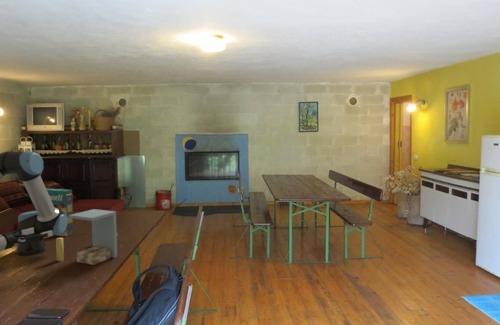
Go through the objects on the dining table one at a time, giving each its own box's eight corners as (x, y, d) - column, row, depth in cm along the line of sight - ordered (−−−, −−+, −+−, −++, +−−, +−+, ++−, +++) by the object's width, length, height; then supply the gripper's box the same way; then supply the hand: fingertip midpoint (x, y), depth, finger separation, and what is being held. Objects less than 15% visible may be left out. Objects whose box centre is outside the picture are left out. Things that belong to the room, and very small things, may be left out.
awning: (71, 262, 209) (69, 215, 206) (95, 253, 224) (94, 209, 222) (93, 266, 202) (92, 218, 200) (117, 256, 218) (116, 211, 215)
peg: (55, 260, 211) (54, 239, 210) (60, 258, 214) (59, 237, 213) (59, 261, 209) (59, 239, 208) (65, 259, 213) (64, 238, 212)
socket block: (77, 261, 210) (76, 252, 209) (94, 255, 221) (93, 246, 220) (93, 264, 205) (93, 255, 204) (110, 257, 216) (110, 249, 215)
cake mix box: (40, 233, 265) (38, 189, 263) (47, 231, 271) (46, 188, 268) (67, 236, 259) (65, 191, 256) (73, 233, 265) (72, 189, 262)
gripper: (-15, 246, 187) (26, 236, 206) (20, 253, 177) (60, 241, 196) (-16, 231, 187) (25, 222, 206) (19, 237, 176) (59, 226, 196)
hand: (42, 231), depth 201 cm, fingers open, 13 cm apart
